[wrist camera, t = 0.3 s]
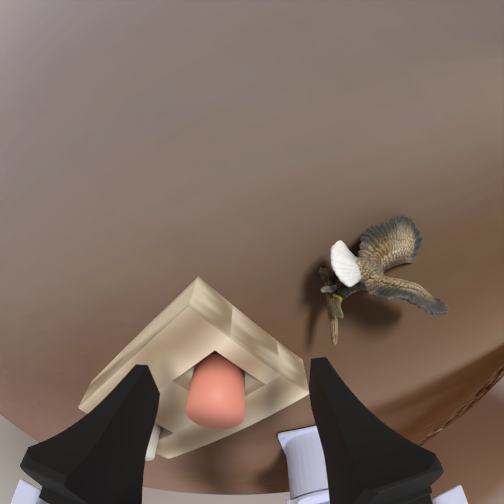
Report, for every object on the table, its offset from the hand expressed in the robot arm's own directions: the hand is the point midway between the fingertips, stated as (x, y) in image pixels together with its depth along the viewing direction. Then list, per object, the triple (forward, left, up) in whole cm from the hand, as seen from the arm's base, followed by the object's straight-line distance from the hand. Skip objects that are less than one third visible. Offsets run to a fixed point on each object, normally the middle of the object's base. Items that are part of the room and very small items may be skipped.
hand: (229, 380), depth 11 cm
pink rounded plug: (-6, +3, -7) cm, 10 cm away
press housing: (-9, +8, -10) cm, 16 cm away
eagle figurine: (-1, -10, -10) cm, 14 cm away
